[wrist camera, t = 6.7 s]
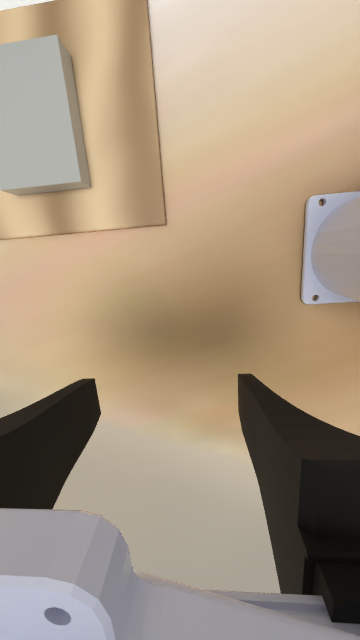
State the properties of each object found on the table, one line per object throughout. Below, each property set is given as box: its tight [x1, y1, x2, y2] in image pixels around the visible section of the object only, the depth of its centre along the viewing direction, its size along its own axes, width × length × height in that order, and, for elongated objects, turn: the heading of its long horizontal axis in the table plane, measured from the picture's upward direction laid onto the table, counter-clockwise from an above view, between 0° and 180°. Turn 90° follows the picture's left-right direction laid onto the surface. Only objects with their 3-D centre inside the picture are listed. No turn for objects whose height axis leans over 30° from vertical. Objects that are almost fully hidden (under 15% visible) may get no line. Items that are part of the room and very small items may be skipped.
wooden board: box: [0, 0, 166, 240], centre depth 18 cm, size 15×14×1 cm
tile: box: [0, 35, 91, 196], centre depth 17 cm, size 2×8×6 cm
